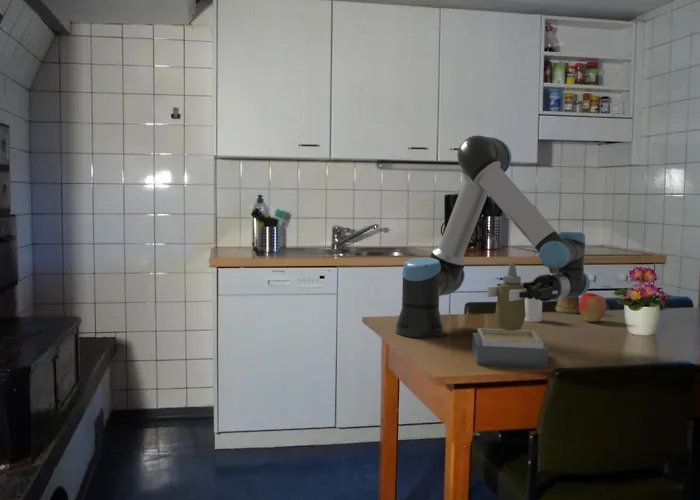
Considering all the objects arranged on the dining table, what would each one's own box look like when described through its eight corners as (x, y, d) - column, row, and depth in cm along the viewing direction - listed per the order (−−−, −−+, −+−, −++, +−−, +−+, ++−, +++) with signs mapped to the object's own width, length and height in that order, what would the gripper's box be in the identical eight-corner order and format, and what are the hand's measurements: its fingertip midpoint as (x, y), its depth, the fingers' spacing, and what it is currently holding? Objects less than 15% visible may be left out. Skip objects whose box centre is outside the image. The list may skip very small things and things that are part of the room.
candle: (544, 319, 243) (546, 278, 242) (538, 322, 238) (540, 280, 236) (526, 317, 246) (528, 276, 245) (520, 320, 241) (522, 278, 240)
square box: (476, 364, 179) (477, 340, 178) (472, 350, 195) (473, 327, 194) (546, 367, 177) (548, 343, 177) (536, 353, 193) (537, 330, 193)
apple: (572, 320, 242) (573, 293, 241) (586, 317, 249) (587, 290, 248) (597, 325, 235) (599, 296, 234) (611, 322, 242) (612, 294, 241)
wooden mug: (553, 307, 270) (555, 262, 269) (584, 312, 260) (587, 265, 259) (540, 309, 264) (543, 263, 263) (572, 314, 254) (575, 267, 253)
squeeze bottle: (525, 332, 180) (528, 265, 179) (494, 330, 182) (497, 263, 180) (524, 326, 188) (527, 262, 187) (494, 325, 190) (497, 260, 188)
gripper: (579, 304, 189) (529, 313, 174) (521, 295, 203) (470, 302, 189) (581, 278, 188) (530, 284, 173) (522, 270, 203) (471, 275, 188)
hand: (499, 293), depth 181 cm, fingers closed on squeeze bottle, 6 cm apart
